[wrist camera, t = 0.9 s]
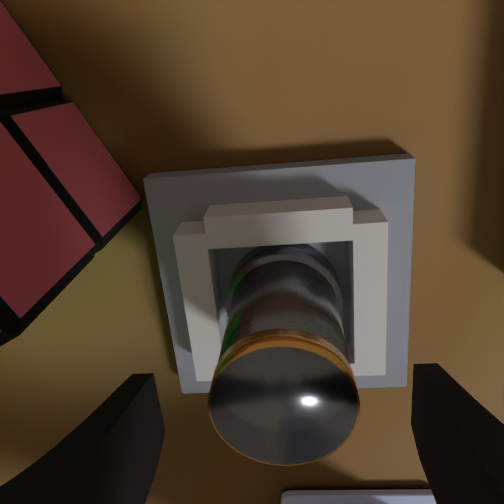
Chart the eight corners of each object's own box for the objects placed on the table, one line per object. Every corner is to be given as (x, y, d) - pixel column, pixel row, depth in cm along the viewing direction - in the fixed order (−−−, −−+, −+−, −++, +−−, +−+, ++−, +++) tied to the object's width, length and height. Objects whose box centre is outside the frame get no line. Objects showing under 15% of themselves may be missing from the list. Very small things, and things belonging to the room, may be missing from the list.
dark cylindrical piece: (340, 334, 20) (365, 468, 13) (236, 338, 20) (213, 470, 14) (337, 236, 18) (365, 336, 12) (224, 243, 19) (191, 343, 12)
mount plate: (401, 372, 22) (415, 410, 19) (186, 379, 23) (175, 416, 20) (408, 153, 18) (426, 167, 15) (150, 173, 19) (130, 189, 16)
